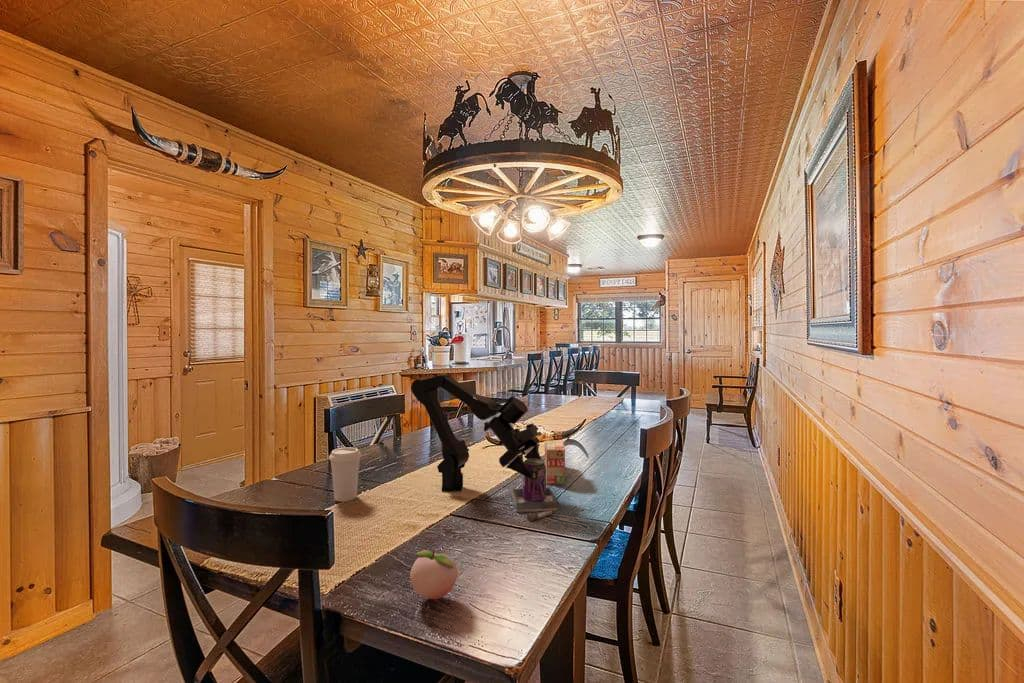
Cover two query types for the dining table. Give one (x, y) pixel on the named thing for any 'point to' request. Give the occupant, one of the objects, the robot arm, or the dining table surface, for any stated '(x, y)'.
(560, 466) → the stack of blocks
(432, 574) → the decorative fruit
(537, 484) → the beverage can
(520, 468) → the robot arm
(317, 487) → the dining table surface
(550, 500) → the tray
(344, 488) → the coffee cup
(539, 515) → the pin gauge
